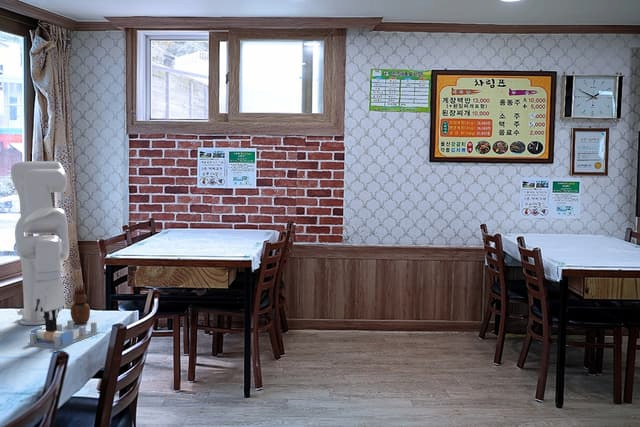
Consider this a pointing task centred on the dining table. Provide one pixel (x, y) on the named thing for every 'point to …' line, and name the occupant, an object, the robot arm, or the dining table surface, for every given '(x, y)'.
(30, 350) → the dining table surface
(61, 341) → the blue and grey tray
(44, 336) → the white rounded bar
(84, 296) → the wooden figurine
